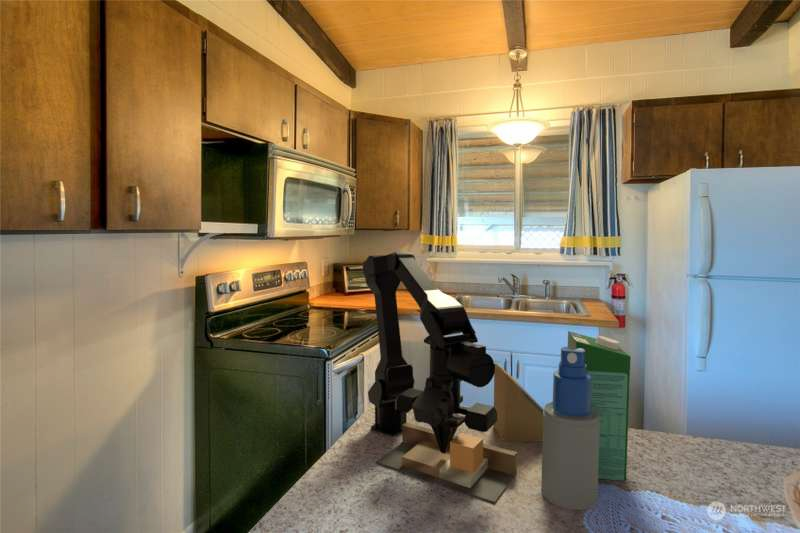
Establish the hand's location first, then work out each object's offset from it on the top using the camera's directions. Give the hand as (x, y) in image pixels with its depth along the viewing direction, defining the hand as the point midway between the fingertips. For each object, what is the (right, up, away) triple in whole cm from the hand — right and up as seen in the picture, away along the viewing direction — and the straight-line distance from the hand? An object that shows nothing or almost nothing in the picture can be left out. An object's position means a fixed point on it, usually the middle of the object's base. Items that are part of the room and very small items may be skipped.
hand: (444, 452), depth 83 cm
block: (+4, -1, -2) cm, 5 cm away
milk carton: (+29, -3, +1) cm, 29 cm away
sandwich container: (+21, -2, +15) cm, 26 cm away
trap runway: (0, -3, 0) cm, 3 cm away
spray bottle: (+20, -4, -8) cm, 22 cm away
